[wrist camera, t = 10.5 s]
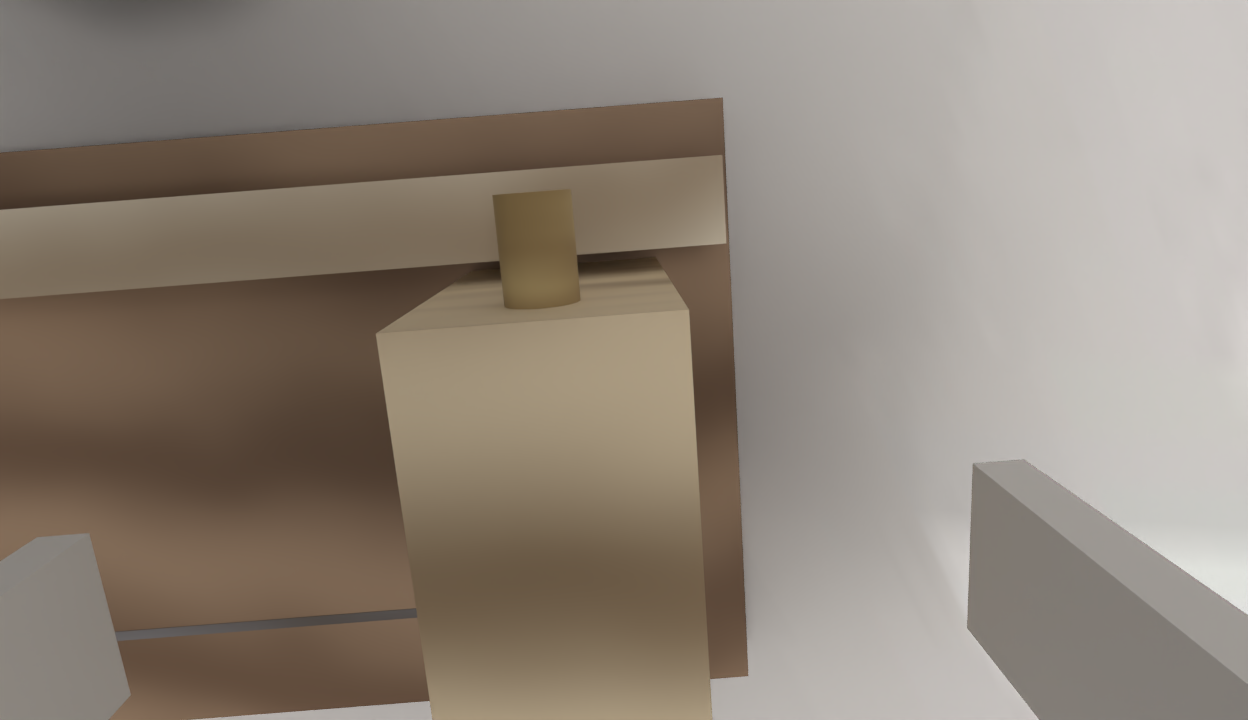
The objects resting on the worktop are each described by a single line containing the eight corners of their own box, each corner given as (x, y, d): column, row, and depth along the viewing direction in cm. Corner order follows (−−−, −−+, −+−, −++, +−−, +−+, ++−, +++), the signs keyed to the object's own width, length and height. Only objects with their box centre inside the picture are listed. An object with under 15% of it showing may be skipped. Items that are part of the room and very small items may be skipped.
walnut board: (-166, 171, 22) (-383, 168, 17) (712, 105, 22) (741, 83, 18) (-14, 697, 26) (-157, 816, 21) (737, 639, 26) (767, 743, 21)
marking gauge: (462, 195, 21) (356, 205, 12) (650, 181, 21) (681, 181, 12) (511, 611, 24) (454, 865, 15) (678, 598, 24) (719, 844, 15)
